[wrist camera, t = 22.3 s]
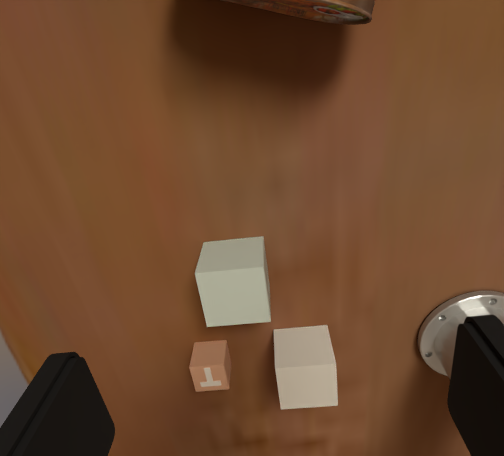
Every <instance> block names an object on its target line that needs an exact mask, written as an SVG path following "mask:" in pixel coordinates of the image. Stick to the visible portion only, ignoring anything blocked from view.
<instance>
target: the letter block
mask: <svg viewBox="0 0 504 456" xmlns="http://www.w3.org/2000/svg"><path fill="white" fill-rule="evenodd" d="M189 368H190V372H191V375H192V379H193V383H194V386H195V390H196V392H198V391H212V390H225V389H229V385H230V375H231V359H230V354H229V349H228V345H227V340H220V341H208V342H195V343H194V348H193V352H192V357H191V361H190V366H189Z"/></svg>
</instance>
